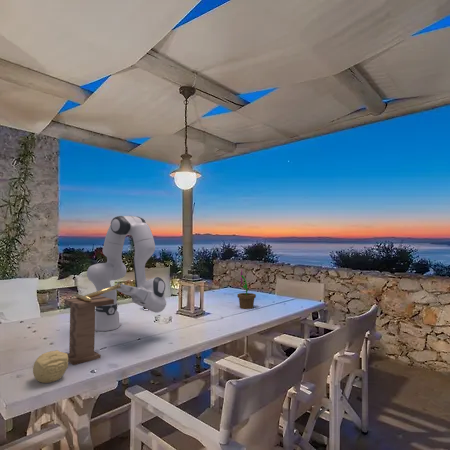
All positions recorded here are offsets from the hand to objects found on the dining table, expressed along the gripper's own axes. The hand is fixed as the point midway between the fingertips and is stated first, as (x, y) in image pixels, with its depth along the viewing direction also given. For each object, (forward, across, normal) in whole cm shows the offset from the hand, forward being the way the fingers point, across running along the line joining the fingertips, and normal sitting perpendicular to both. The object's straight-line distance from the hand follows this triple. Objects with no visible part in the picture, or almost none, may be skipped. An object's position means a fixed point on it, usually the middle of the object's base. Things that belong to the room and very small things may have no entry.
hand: (118, 284), depth 167 cm
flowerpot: (-117, -18, -31) cm, 123 cm away
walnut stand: (-3, 0, +34) cm, 35 cm away
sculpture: (+15, +14, +45) cm, 50 cm away
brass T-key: (+5, 0, +6) cm, 8 cm away
